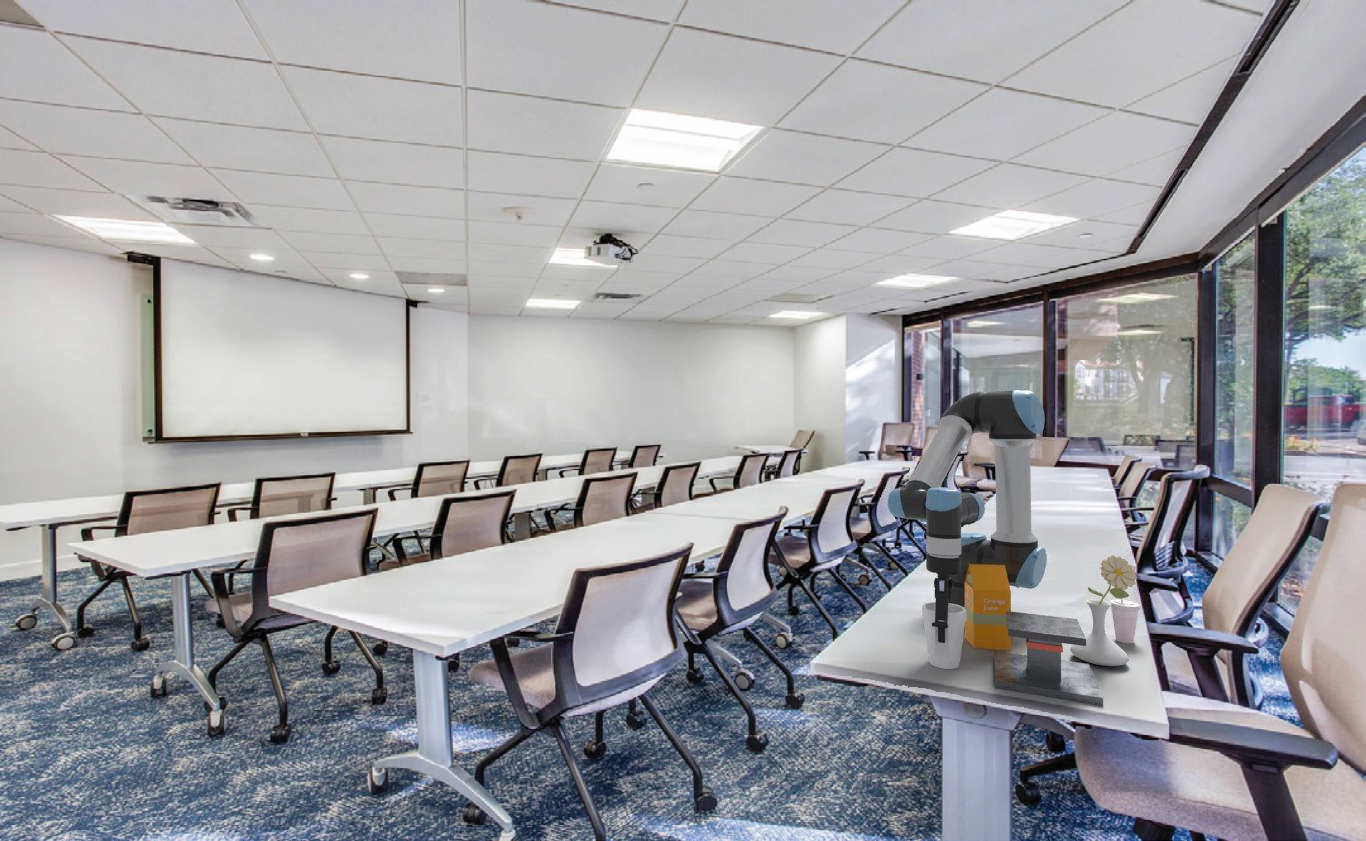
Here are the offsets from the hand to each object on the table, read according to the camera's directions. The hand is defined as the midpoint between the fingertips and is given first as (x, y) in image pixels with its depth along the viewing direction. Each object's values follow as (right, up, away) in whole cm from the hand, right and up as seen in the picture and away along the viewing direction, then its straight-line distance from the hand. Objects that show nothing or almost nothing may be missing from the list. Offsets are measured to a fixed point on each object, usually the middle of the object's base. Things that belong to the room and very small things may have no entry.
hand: (943, 646), depth 143 cm
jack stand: (+18, -4, -9) cm, 20 cm away
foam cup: (0, -4, 0) cm, 4 cm away
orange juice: (+17, -4, +13) cm, 22 cm away
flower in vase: (+38, -4, +1) cm, 38 cm away
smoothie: (+53, -4, +15) cm, 55 cm away
